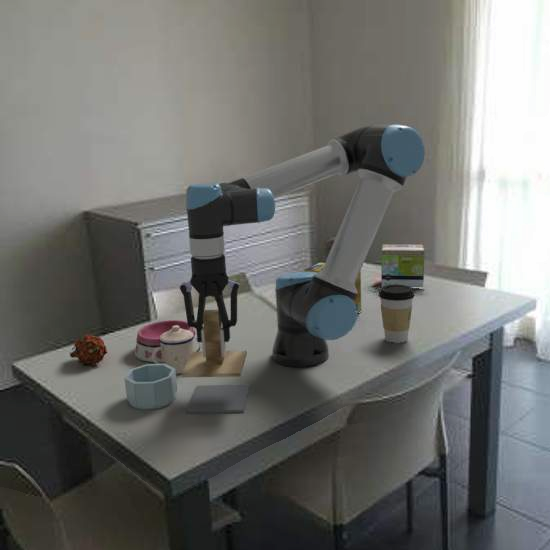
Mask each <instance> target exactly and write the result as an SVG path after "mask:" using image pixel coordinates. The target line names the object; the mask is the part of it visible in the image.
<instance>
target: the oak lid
mask: <svg viewBox="0 0 550 550" xmlns="http://www.w3.org/2000/svg"><path fill="white" fill-rule="evenodd" d="M203 326H204V338H205V351H206V357H203V350H202V351H198V352H192V354H191V356H190V358H189V360H188V362H187V364H186V366H185V368H184V370H183V372H182V373H181V378H227V377H228V378H231V377H233V378H235V377H240V378H241V376H242V373H243V369H244V364H245V362H246V358H247V355H248V352H247V350H226V352H227V353H226V355H225V357H222V355H221V340H220V328H221V326H222V322H221V318H220V314H219V310H218V309H205V311H204V314H203Z"/></svg>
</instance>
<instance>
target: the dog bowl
mask: <svg viewBox="0 0 550 550" xmlns="http://www.w3.org/2000/svg"><path fill="white" fill-rule="evenodd" d="M175 325H178V326H179V327H180V328H181V329H184V330H189V331H191V332H192V333H193V334H194V350H195V352H200V349H201V345H200V342H198V341H197V333H196V331H195V328H194V327H189V326H188V323H187V320H180V319H179V320H178V319H177V320H176V319H173V320H172V319H169V320H168V319H167V320H160V321H155V322H151V323H148V324H145V325H144V326H142V327H141V328H140V329H139V330H138V331H137V337H136V343H135V348H134V349H135V351H134V352H133V353H134V357H135V359H137V360H138V361H140V362H143V363H146V364H155V363H154V361H153V359H152V352H153V351H154V350H155V349H156V348H157V347H161V344H160V341H159V338H160V336H161V335H162V334H163V333H165V332H168V331H169V330H171V329H172V327H173V326H175ZM156 360H157V361H158V362H162V354H161V350H160V351H158V352H157V353H156Z"/></svg>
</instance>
